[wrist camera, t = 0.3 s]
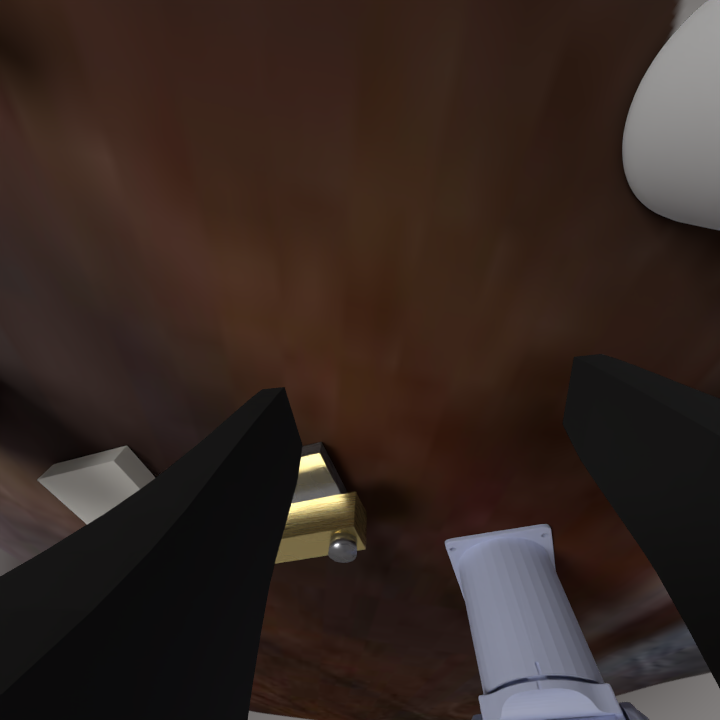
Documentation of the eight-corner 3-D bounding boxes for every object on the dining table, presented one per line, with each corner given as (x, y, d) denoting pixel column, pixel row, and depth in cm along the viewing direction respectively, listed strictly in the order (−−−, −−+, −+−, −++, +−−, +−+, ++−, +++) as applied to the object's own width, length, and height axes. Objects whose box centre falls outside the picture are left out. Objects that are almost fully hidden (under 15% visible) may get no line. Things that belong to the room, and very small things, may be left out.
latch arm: (370, 519, 23) (369, 569, 20) (212, 547, 25) (192, 595, 22) (352, 483, 21) (348, 532, 18) (185, 516, 23) (160, 564, 21)
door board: (239, 572, 31) (223, 618, 28) (178, 582, 32) (156, 627, 29) (126, 445, 24) (89, 488, 21) (53, 464, 25) (7, 507, 22)
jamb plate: (356, 508, 26) (354, 535, 24) (217, 534, 28) (206, 559, 27) (321, 441, 23) (316, 466, 21) (168, 476, 25) (152, 501, 23)
